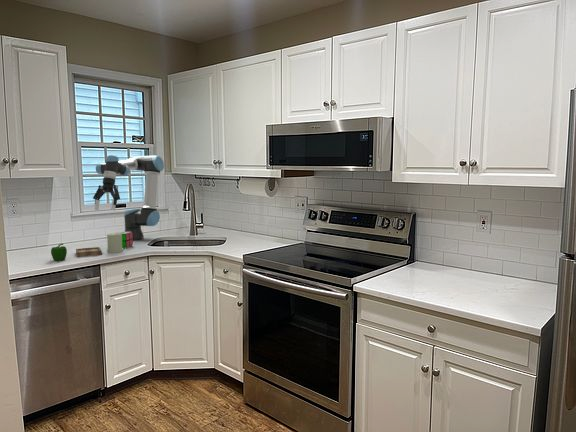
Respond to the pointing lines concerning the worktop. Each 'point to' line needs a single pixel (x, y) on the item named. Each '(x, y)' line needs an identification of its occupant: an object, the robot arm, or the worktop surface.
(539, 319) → the worktop surface
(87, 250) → the board
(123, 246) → the puzzle cube
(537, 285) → the worktop surface
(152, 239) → the worktop surface
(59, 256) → the bell pepper
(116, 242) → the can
